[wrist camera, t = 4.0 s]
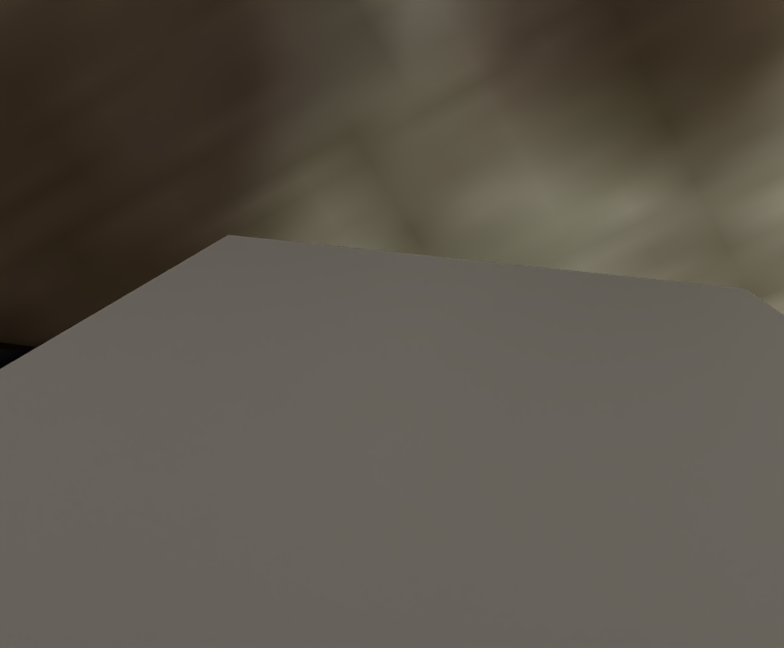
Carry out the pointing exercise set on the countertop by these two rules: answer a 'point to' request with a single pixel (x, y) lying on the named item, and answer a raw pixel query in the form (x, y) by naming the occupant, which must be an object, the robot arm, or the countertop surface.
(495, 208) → the countertop surface
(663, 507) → the matte white cube
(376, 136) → the countertop surface
